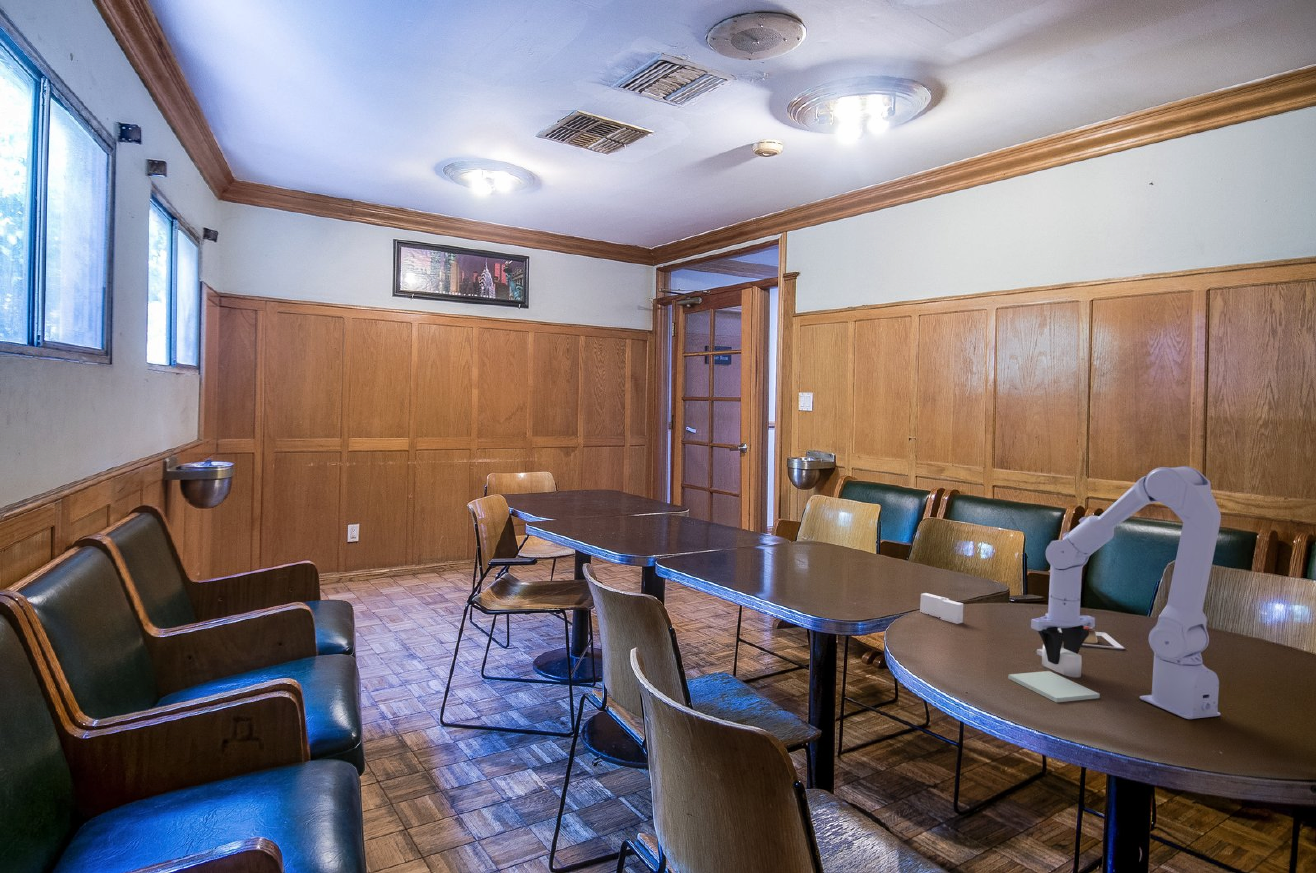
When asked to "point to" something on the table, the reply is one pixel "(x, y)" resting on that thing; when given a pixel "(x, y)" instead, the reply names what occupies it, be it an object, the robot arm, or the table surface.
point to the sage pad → (1053, 686)
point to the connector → (1063, 662)
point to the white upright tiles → (941, 608)
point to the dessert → (1093, 639)
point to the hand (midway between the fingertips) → (1061, 661)
